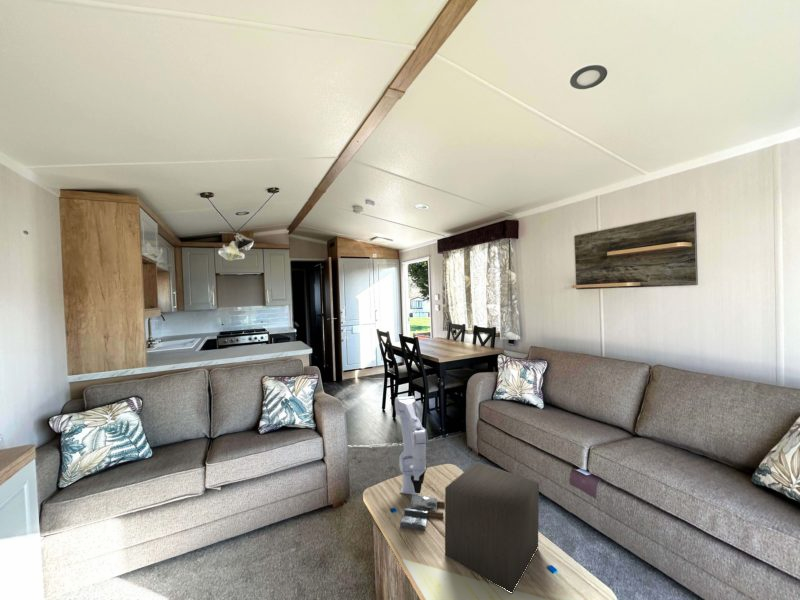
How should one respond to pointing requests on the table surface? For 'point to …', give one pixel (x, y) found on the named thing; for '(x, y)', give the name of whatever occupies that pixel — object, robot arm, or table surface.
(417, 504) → the grey metal cylinder
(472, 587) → the table surface
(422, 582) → the table surface
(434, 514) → the brown piece
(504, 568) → the wood block
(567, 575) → the table surface
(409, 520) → the cradle
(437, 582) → the table surface
